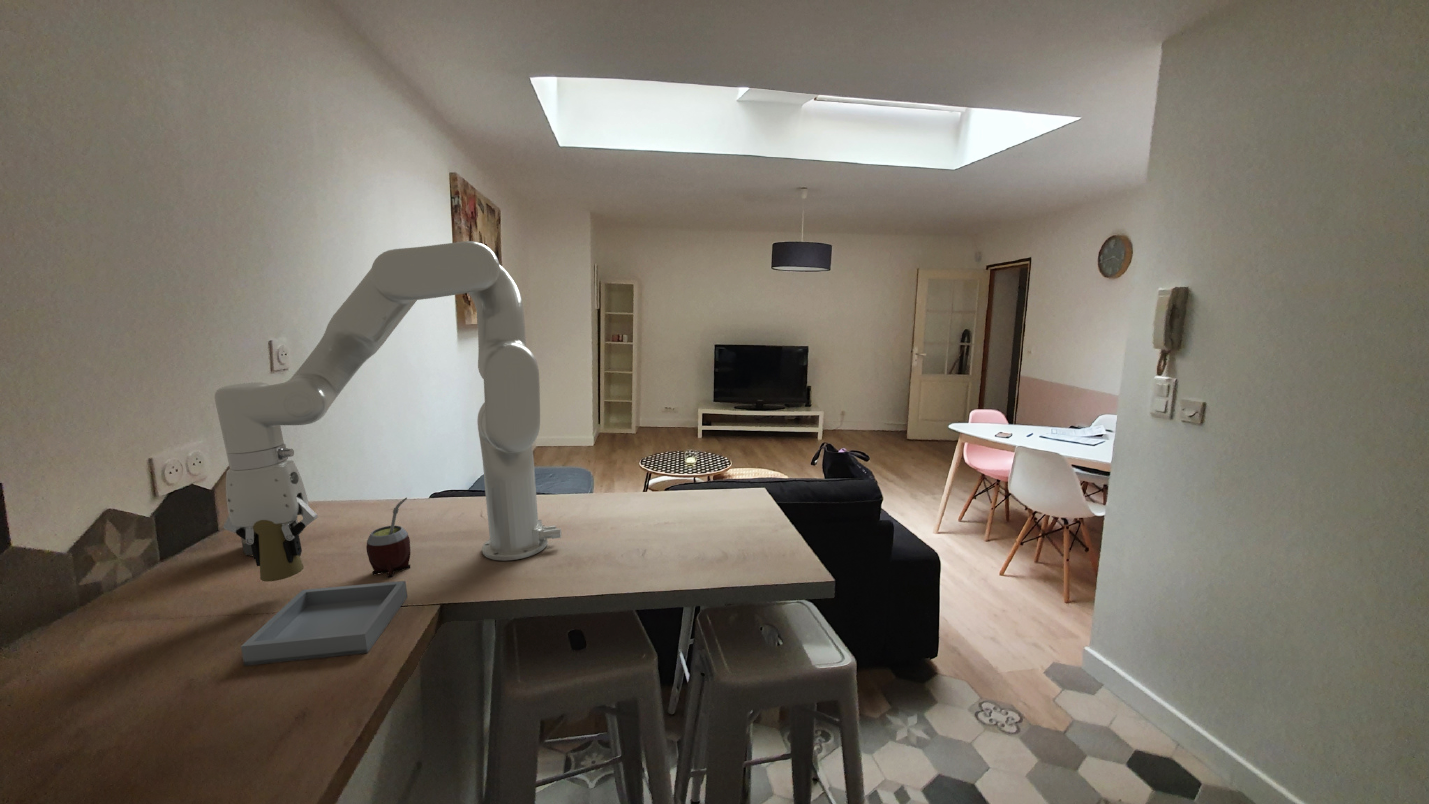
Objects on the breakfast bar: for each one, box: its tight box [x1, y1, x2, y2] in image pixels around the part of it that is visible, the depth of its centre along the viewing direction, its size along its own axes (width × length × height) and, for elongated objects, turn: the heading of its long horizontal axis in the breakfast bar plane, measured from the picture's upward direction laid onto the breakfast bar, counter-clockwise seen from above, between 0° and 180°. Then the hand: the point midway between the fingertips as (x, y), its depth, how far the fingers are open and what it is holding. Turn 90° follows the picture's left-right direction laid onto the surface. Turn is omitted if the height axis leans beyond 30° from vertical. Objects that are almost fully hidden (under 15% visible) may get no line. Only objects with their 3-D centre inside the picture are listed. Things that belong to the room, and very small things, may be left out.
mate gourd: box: [366, 497, 412, 579], centre depth 107 cm, size 8×8×15 cm
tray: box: [240, 580, 408, 667], centre depth 89 cm, size 16×16×3 cm
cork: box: [253, 520, 305, 582], centre depth 98 cm, size 6×6×11 cm
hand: (279, 559), depth 98 cm, fingers closed on cork, 3 cm apart
